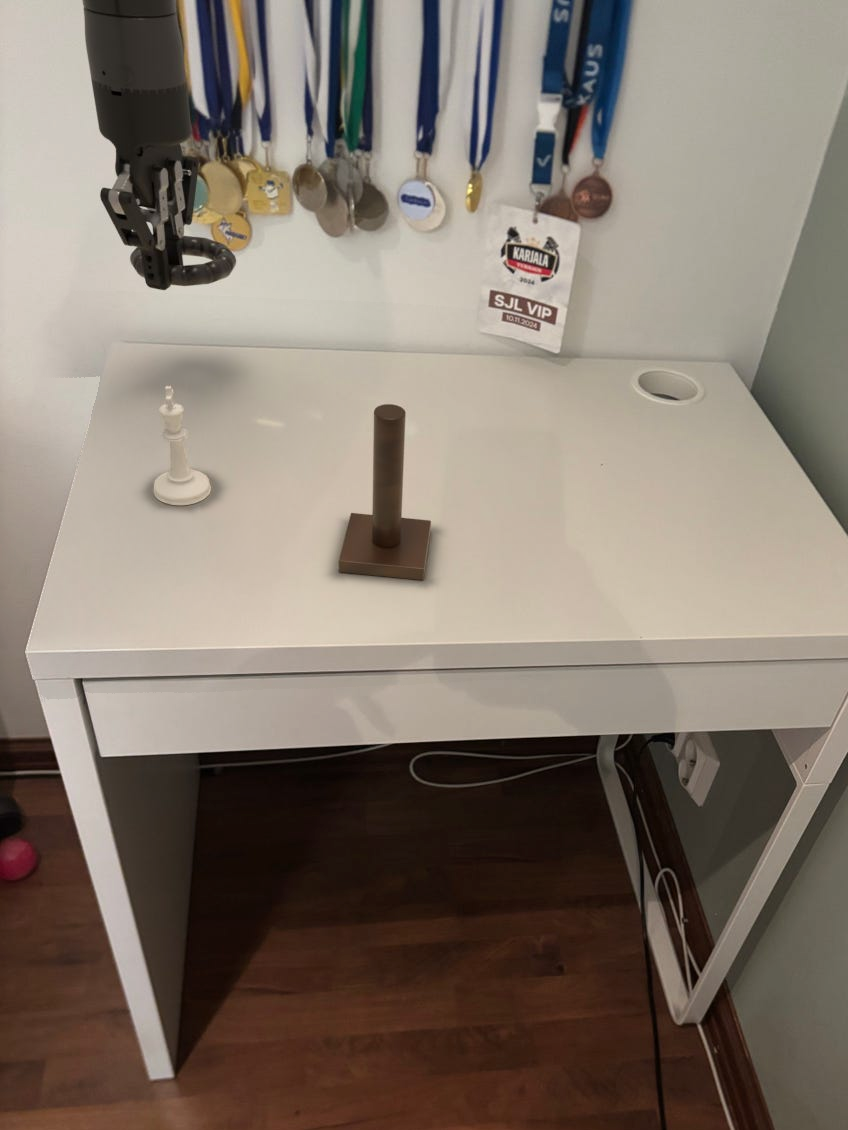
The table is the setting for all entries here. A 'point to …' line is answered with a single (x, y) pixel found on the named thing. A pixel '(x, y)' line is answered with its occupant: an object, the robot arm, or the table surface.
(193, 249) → the ring
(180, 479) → the chess piece
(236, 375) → the table surface
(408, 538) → the peg stand
